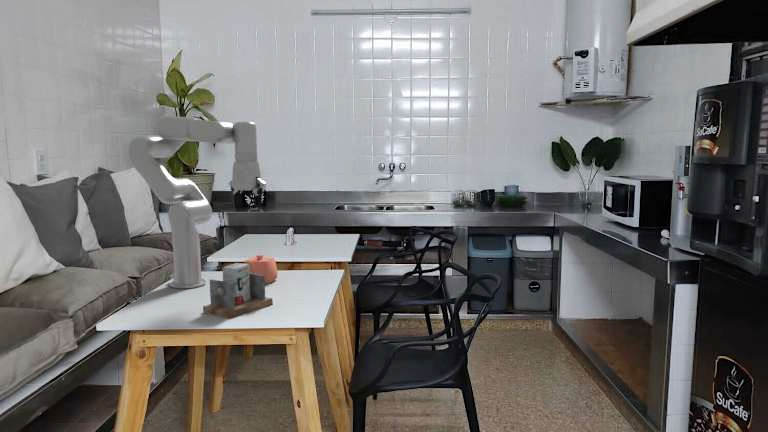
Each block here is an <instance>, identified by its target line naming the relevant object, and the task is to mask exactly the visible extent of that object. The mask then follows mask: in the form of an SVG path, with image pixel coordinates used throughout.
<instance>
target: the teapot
mask: <svg viewBox="0 0 768 432" xmlns="http://www.w3.org/2000/svg"><path fill="white" fill-rule="evenodd" d="M243 264H249V273H253V274H260V275H264V277H265V285H266V284H270V283H272V282H274V281H276V280H277V278H278V273H279V272H278V268H277V263H276V260H275V257H269V256H268V257H264V255H263V254H256V256H255V257H253V256H252V257H250V258H248V259H246V260H245V261H244V263H243Z"/></svg>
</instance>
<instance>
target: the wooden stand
mask: <svg viewBox="0 0 768 432" xmlns="http://www.w3.org/2000/svg"><path fill="white" fill-rule="evenodd" d="M249 277H250V300H248V301H246V302H243V303H241V304H239V305H235V295H234V283H230V282H224V281H223V280H217V279H211V278H210V279H209V291H210V292H209V293H210V294H209V295H210V304H209V303H208V304H206V305H202V312H203V313H204V314H208V315H213V316H217V317H223V318H226V319H232V318H235V317H238V316H241V315H244V314H248V313H251V312H253V311H254V312H255V311H257V310H259V309H262V308H266V307H269V306H272V305H273V303H274V302H273V301H274V300H273V298H272V297H267V296H266V284H265V277H264V275H260V274H253V273H249Z"/></svg>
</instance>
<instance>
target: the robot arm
mask: <svg viewBox="0 0 768 432" xmlns="http://www.w3.org/2000/svg"><path fill="white" fill-rule="evenodd" d="M154 130H155V132H156V135H150V134H147V135H146V134H144V135H143V134H142V135H138V136H135V137H134V138H132V139H131V141H130V142H129V144H128V158H129V161H130V164H131V165H132V167H133V168H134V169H135V171H136V172H137V173H138V174H139V175H140V176H141V178H143V180H144V181H145V182H146V184H147V185H148V187H149V188H150V190H152V191H151V192H152V193H154V195H155V196H156V197H157V198H158V200H159V201H160V202H161V203H162V204H166V205H171V206H170V207H169V208H168V209H169V210H168V212H167V217H168V223H169V226H170V229H171V239H172V255H173V273H171V274H170V275H169V277H170V278H173V280H172V281H171V282H170V287H171V288H174V289H194V288H199V287H202V286H205V285H206V284H207V280H206V279H204V278H202V265H201V261H202V260H201V243H200V234H199V231H198V229H197V228H196V225H197V226H198V225H202V224H205V223H207V222H209V221H210V220H211V218H212V216H213V209H212V205H211V204H210V202H209V200H208V199H207V198H206V197H205V196H204V194H203V193H202V192H201V190H200V189H199V187H198V186H197V185H196V183H194V182H193V180H190V179H188V178H187V177H186V178H185V177H173V176H172V175H171V174H170V173H169V172H168V169H166V168H165V166H164V165H163V164H161V163H160V162H159V161H157V159H160V158H161V159H163V158H164V159H165V158H169V157H170V156H172V155H174V154H175V153H176V152H177V151H179V149H180V148H181V147H182V146H183V145H184V144H185V143H187V142H194V143H195V142H199V143H208V144H209V143H210V144H234V158H235V159H234V160H235V161H233V164H232V175H231V177H232V179H231V180H230V181H229V182H228V184H229V187H230V190H231V192H232V195H233V198H234V199H233V200H234V207H242V206H243V194H242V192H243V191H252V193H253V194H254V196H253V207H254V208H262V207H263V200H262V199H263V198H262V196H263V195H264V192H265V191H266V187H267V183H266V182H265V181H264V180H262V177H261V176H262V175H261V169H260V164H259V161H258V143H257V139H258V138H257V126H256V123H255V122H254V121H237V122H232V121H220V120H219V121H218V120H217V121H216V120H203V119H202V120H201V119H199V118H196V117H187V116H177V115H176V116H175V115H163V116H160V117H159V118H157V119H156V121H155V123H154Z"/></svg>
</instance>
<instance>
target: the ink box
mask: <svg viewBox="0 0 768 432" xmlns="http://www.w3.org/2000/svg"><path fill="white" fill-rule="evenodd" d="M222 281H224V282H230V283H234V295H235V305H239V304H241V303H243V302H246V301H248V300H250V277H249V264H244V263H239V262H235V263H231V264H229V265H226V266H224V267H223V268H222Z"/></svg>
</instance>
